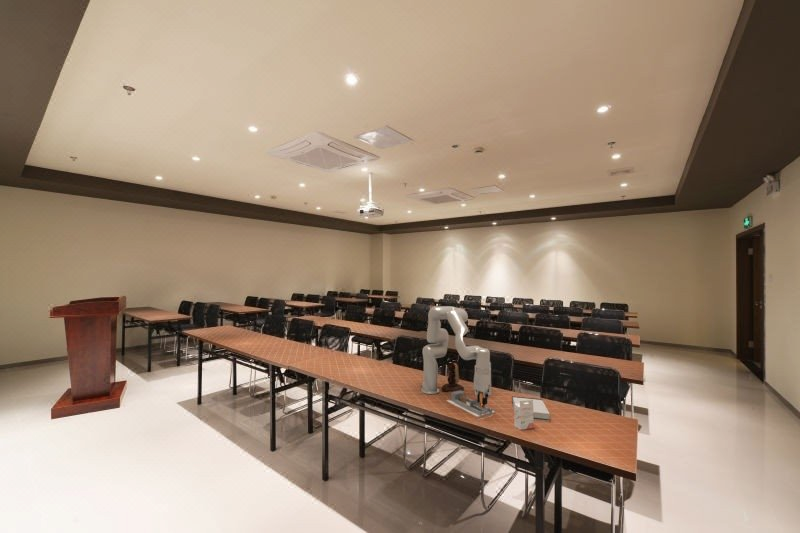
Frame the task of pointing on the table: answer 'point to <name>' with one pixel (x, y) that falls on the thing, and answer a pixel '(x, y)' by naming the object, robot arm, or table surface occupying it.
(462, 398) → the nut
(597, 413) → the table surface
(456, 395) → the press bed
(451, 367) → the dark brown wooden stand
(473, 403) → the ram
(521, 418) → the ink cartridge box
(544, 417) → the disc drive
